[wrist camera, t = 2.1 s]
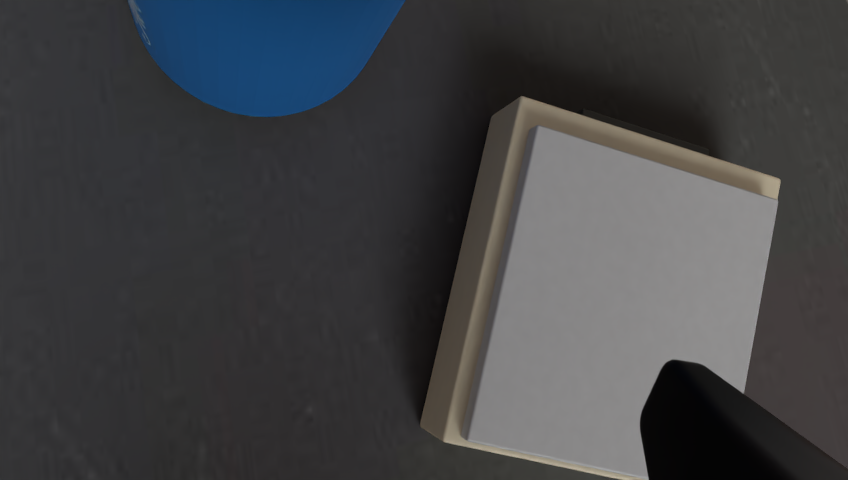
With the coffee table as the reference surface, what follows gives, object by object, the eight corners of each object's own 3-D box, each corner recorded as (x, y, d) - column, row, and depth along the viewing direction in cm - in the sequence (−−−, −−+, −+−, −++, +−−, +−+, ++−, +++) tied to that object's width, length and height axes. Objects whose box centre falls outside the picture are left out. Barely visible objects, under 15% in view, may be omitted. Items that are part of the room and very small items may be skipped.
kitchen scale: (674, 481, 24) (738, 507, 21) (418, 427, 22) (448, 446, 19) (731, 177, 25) (800, 161, 22) (494, 102, 23) (533, 73, 20)
